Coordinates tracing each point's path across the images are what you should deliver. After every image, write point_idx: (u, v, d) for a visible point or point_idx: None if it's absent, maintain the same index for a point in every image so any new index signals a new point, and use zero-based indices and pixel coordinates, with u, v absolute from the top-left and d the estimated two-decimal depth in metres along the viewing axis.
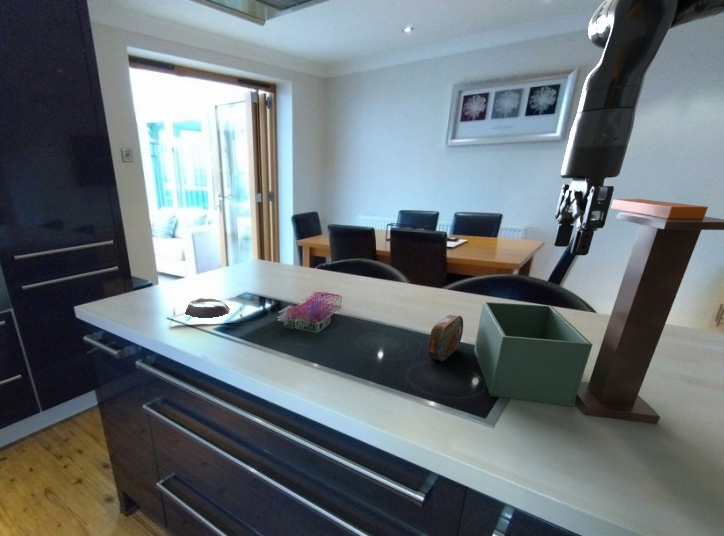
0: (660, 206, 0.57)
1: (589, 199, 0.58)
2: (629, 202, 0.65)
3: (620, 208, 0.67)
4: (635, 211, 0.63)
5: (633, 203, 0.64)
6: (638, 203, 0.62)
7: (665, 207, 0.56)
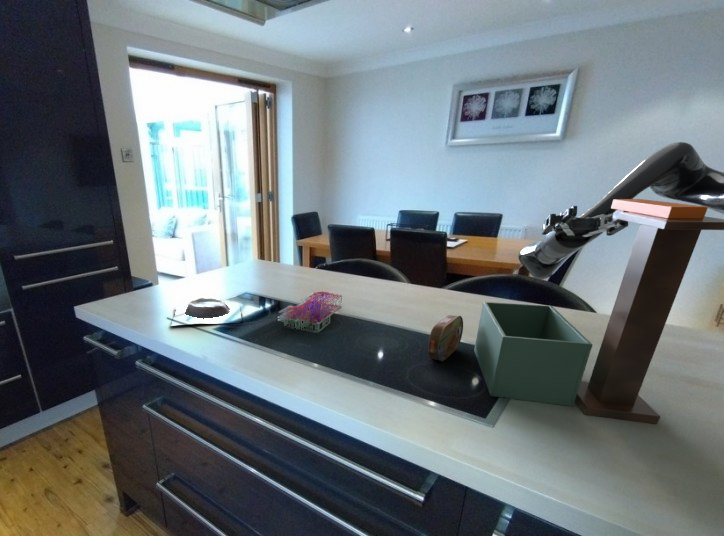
0: (660, 206, 0.57)
1: (547, 231, 0.88)
2: (629, 202, 0.65)
3: (620, 208, 0.67)
4: (635, 211, 0.63)
5: (633, 203, 0.64)
6: (638, 203, 0.62)
7: (665, 207, 0.56)
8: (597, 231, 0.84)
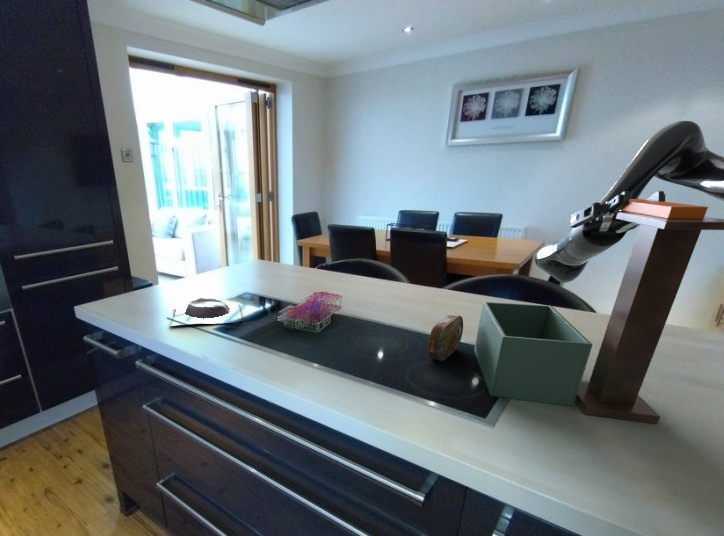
0: (660, 206, 0.57)
1: (580, 224, 0.74)
2: (629, 202, 0.65)
3: None
4: (635, 211, 0.63)
5: (633, 203, 0.64)
6: (638, 203, 0.62)
7: (665, 207, 0.56)
8: (630, 224, 0.71)
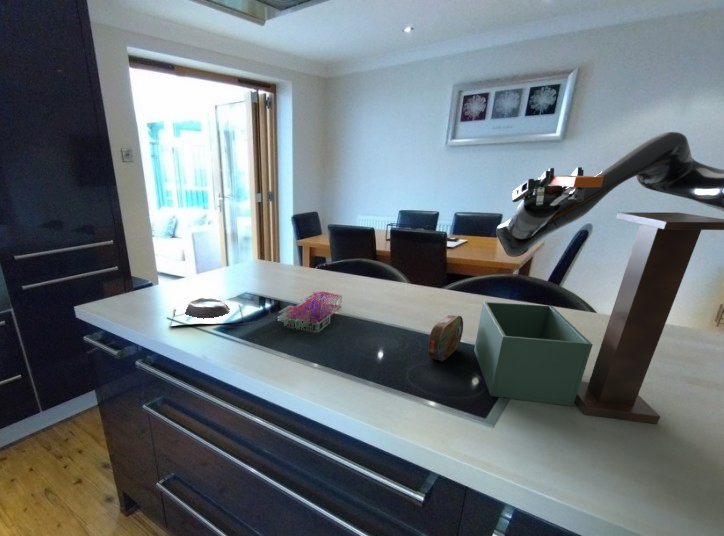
0: (570, 177, 0.68)
1: (519, 198, 0.85)
2: (553, 177, 0.76)
3: None
4: (556, 184, 0.74)
5: (555, 177, 0.75)
6: (558, 177, 0.74)
7: (572, 178, 0.67)
8: (560, 198, 0.82)
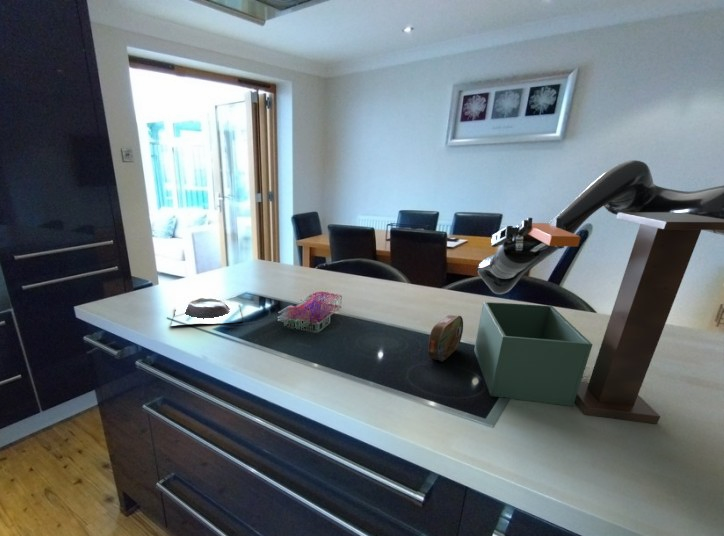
0: (546, 234, 0.65)
1: (498, 244, 0.82)
2: (531, 227, 0.73)
3: None
4: (534, 236, 0.71)
5: (533, 228, 0.72)
6: (536, 229, 0.71)
7: (548, 235, 0.64)
8: (540, 245, 0.79)
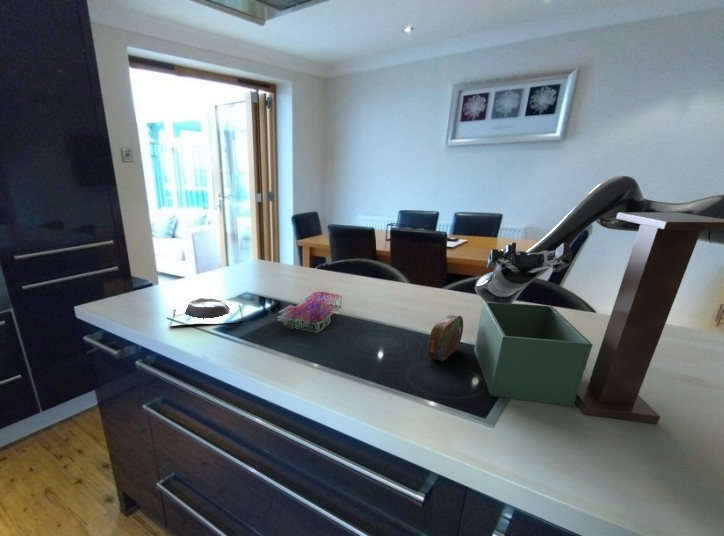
0: None
1: (491, 266, 0.84)
2: None
3: None
4: None
5: None
6: None
7: None
8: (541, 268, 0.80)
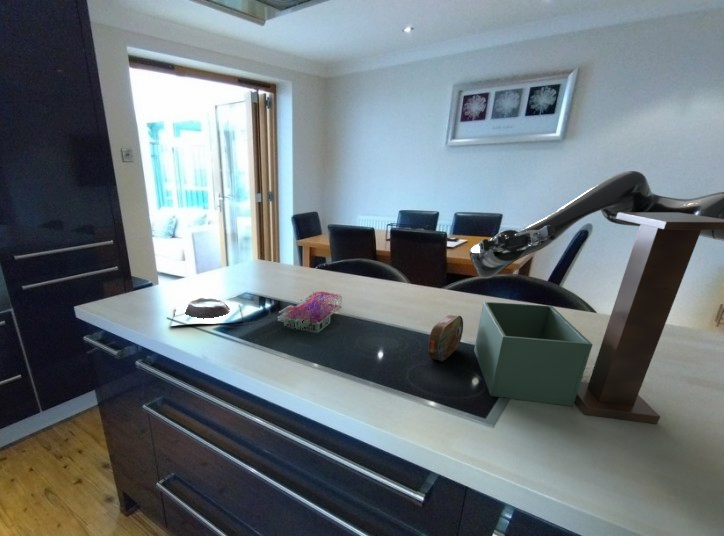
0: None
1: (484, 252, 0.91)
2: None
3: None
4: None
5: None
6: None
7: None
8: (529, 246, 0.87)
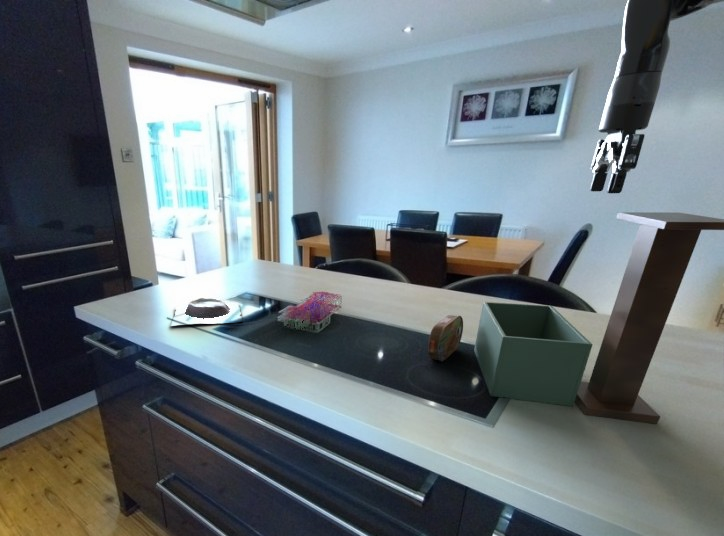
0: None
1: None
2: None
3: None
4: None
5: None
6: None
7: None
8: None
